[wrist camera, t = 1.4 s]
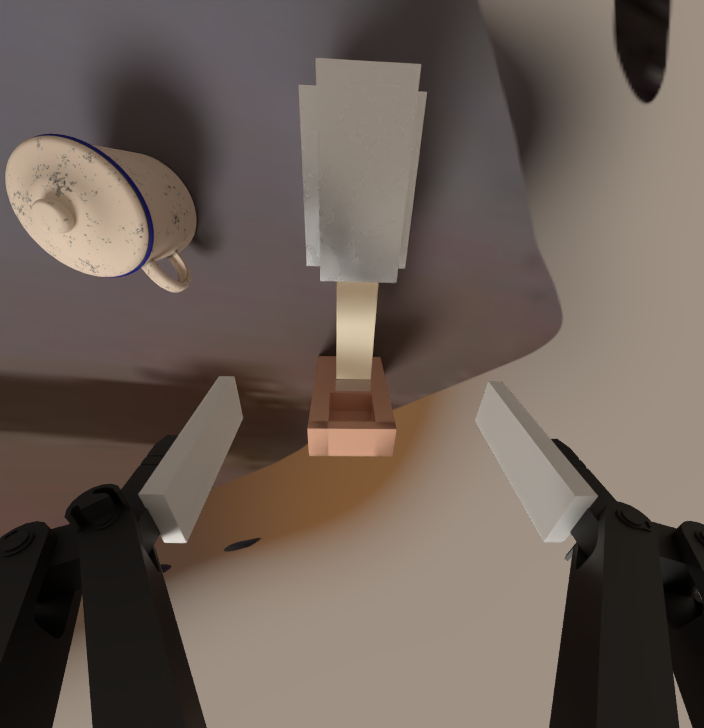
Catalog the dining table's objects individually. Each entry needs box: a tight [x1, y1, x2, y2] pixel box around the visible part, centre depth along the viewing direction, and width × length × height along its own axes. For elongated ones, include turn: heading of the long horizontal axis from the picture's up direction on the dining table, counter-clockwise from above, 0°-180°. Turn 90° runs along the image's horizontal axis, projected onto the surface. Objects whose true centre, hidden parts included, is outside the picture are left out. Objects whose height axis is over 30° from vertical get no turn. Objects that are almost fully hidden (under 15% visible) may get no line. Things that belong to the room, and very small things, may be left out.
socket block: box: [308, 356, 396, 456], centre depth 32 cm, size 4×8×13 cm, turn 88°
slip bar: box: [336, 281, 378, 391], centre depth 22 cm, size 19×3×3 cm, turn 178°
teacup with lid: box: [5, 134, 197, 292], centre depth 24 cm, size 12×9×12 cm
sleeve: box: [299, 58, 427, 283], centre depth 22 cm, size 11×8×13 cm
